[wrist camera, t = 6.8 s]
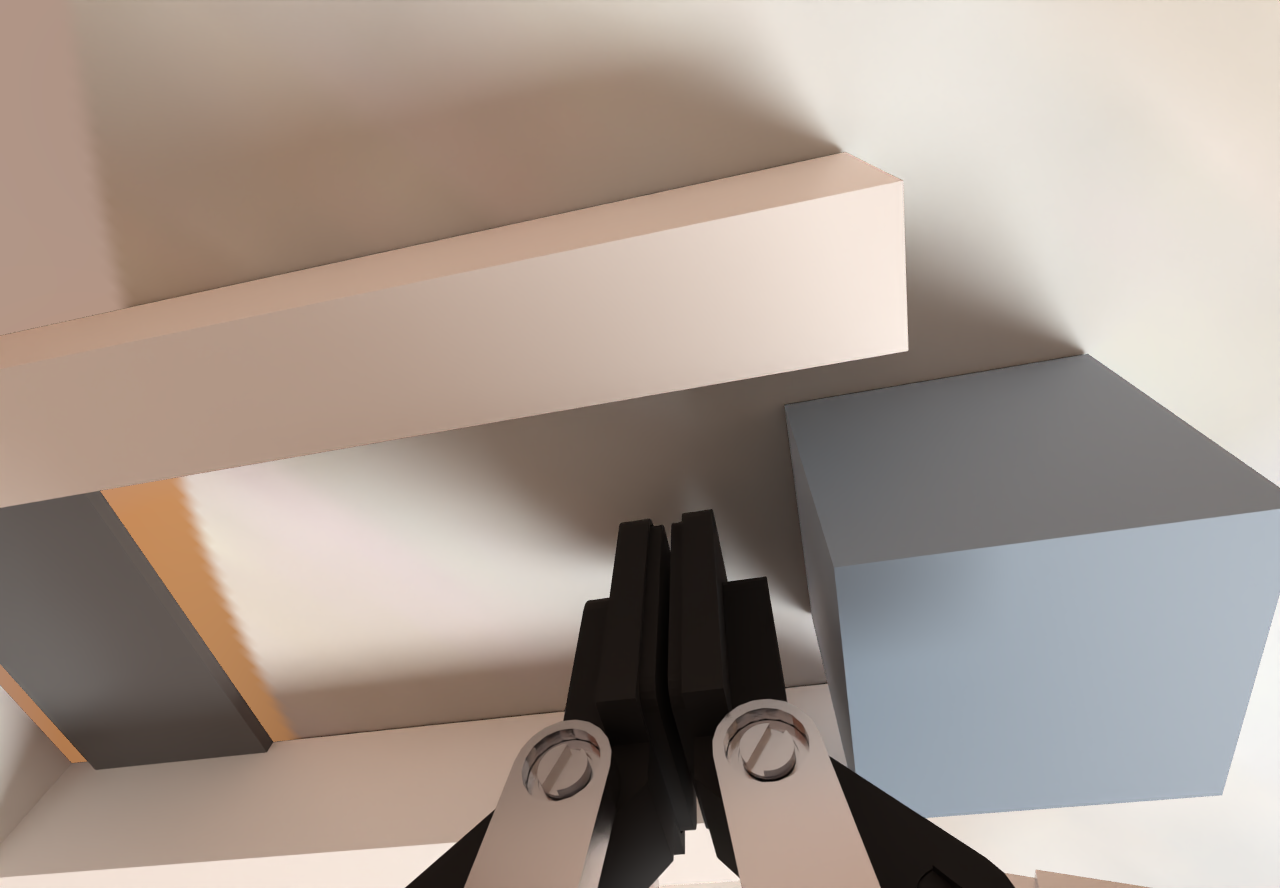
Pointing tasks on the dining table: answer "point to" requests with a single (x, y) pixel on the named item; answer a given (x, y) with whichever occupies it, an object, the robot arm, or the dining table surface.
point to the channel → (342, 418)
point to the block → (1032, 588)
